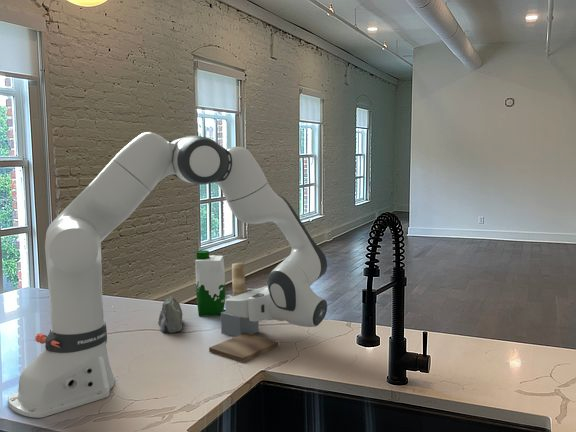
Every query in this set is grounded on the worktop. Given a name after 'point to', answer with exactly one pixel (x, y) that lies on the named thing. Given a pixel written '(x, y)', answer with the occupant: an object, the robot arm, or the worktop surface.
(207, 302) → the milk carton
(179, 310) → the mineral rock
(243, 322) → the open box
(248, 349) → the tray
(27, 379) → the robot arm
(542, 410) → the worktop surface
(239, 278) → the dowel
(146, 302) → the worktop surface
